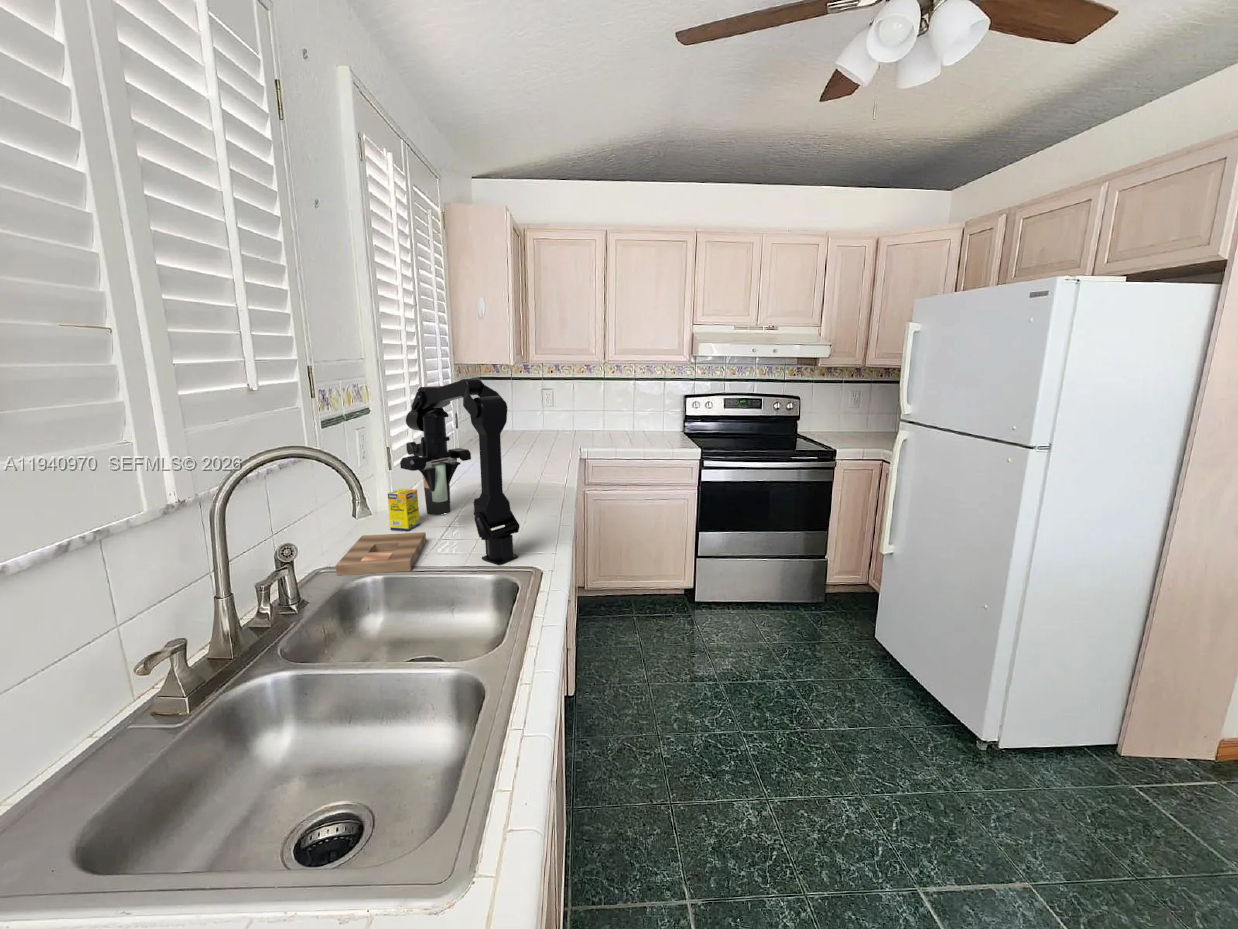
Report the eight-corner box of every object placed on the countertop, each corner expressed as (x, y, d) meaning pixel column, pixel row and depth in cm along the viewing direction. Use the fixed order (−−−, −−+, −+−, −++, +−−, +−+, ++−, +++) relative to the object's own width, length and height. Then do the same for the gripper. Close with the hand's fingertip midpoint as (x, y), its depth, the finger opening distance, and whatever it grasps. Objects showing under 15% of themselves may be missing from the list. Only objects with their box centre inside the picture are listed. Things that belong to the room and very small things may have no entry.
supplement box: (408, 531, 150) (405, 494, 148) (389, 530, 152) (386, 493, 149) (420, 525, 156) (417, 489, 154) (402, 523, 157) (399, 488, 155)
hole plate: (363, 544, 140) (362, 534, 140) (426, 541, 143) (425, 531, 142) (336, 575, 121) (335, 564, 121) (410, 571, 124) (409, 560, 123)
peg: (450, 499, 147) (448, 464, 145) (438, 503, 144) (435, 466, 142) (441, 497, 149) (439, 462, 147) (429, 500, 146) (426, 465, 144)
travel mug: (456, 509, 171) (452, 448, 167) (442, 516, 164) (437, 453, 160) (435, 507, 173) (430, 447, 169) (420, 514, 166) (415, 451, 162)
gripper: (446, 426, 155) (449, 478, 158) (386, 435, 140) (391, 492, 143) (470, 430, 148) (473, 484, 151) (410, 439, 133) (415, 498, 137)
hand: (439, 489), depth 146 cm, fingers closed on peg, 4 cm apart
